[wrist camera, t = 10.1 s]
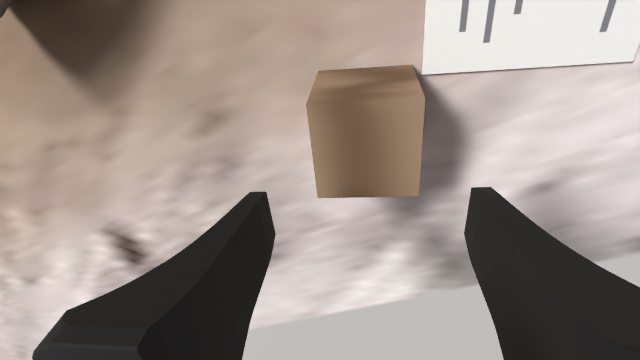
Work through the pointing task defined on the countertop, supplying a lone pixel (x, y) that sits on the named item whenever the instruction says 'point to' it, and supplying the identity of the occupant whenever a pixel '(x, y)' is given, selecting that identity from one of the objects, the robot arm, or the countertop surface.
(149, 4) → the countertop surface
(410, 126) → the walnut block
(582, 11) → the letter
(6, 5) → the perforated stone tool
